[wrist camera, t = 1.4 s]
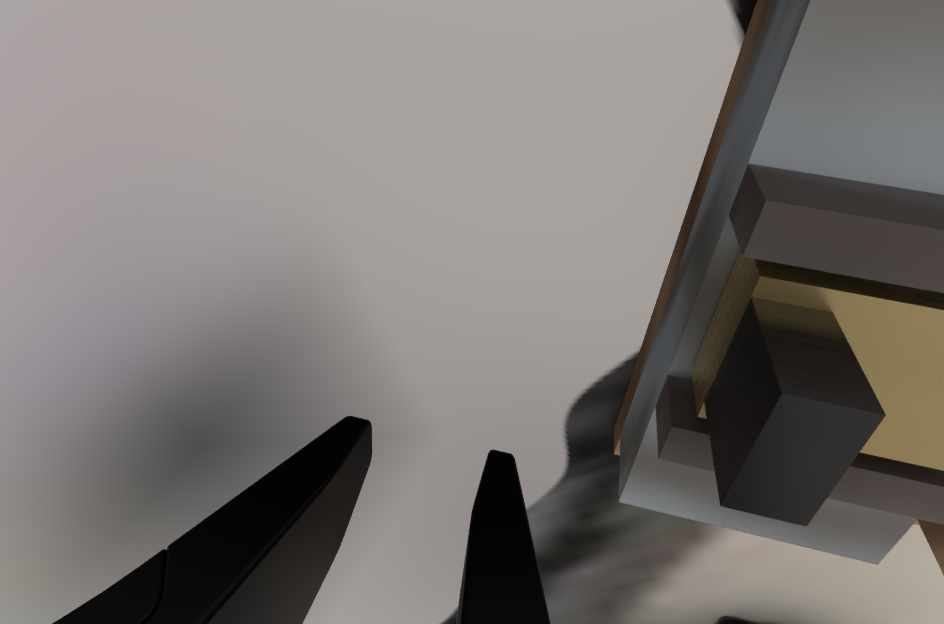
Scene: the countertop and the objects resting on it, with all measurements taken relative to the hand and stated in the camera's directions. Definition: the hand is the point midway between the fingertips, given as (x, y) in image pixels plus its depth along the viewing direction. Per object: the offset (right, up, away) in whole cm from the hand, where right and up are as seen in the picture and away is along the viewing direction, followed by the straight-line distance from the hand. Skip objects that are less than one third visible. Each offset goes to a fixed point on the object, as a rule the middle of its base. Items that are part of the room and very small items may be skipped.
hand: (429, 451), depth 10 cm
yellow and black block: (+10, +2, +4) cm, 11 cm away
